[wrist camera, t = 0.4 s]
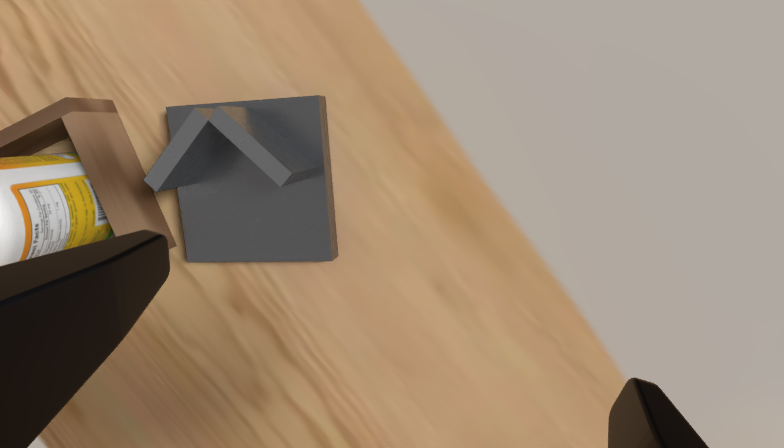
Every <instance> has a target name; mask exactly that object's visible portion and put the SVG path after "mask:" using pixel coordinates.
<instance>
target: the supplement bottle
mask: <svg viewBox="0 0 784 448" xmlns="http://www.w3.org/2000/svg"><path fill="white" fill-rule="evenodd" d="M114 236H115V234H114V231H113V229H112V227H111V225H110V223H109V220H108V218H107V216H106V214H105V212H104V210H103V207H102V205H101V203H100V201H99V199H98V196H97V194H96V192H95V190H94V188H93V186H92V183H91V181H90V179H89V177H88V175H87V172H86V170H85V168H84V166H83V164H82V161H81V159H80V157H79V155H78V153H58V154H46V155H32V156H18V157H3V158H0V266H3V265H7V264H10V263H14V262H18V261H22V260H26V259H30V258H34V257H38V256H42V255H46V254H50V253H54V252H57V251H61V250H65V249H69V248H73V247H77V246H81V245H85V244H89V243H93V242H97V241H101V240H105V239H108V238H112V237H114Z"/></svg>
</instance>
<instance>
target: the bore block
mask: <svg viewBox="0 0 784 448" xmlns="http://www.w3.org/2000/svg"><path fill="white" fill-rule="evenodd" d="M69 136H70V137H71V140H72V142H73V144H74V146H75V148H76V151H77V153H78V155H79V157H80V159H81V161H82V164H83V166H84V168H85V170H86V172H87V175H88V177H89V179H90V181H91V183H92V186H93V188H94V190H95V192H96V194H97V196H98V199H99V201H100V203H101V205H102V207H103V210H104V212H105V214H106V216H107V218H108V220H109V223H110V225H111V227H112V229H113V231H114V234H115V236H120V235H124V234H128V233H132V232H136V231H140V230H144V229H147V230H151V231H155V232H158V233H161V234H163V235H165V236H166V238H167V240H168V248H169V249H170V248H173V247H175V246H177V245H176V243H175V241H174V239H173V236H172V234H171V232H170V230H169V227H168V225H167V223H166V221H165V218H164V216H163V214H162V212H161V209H160V207H159V205H158V203H157V200H156V198H155V196H154V194H153V191H152V189H151V187H150V185H148V184H147V183H146V182H145V181H144V179H145V177H146V176H145V173H144V171H143V169H142V167H141V164H140V162H139V160H138V158H137V155H136V153H135V151H134V148H133V146H132V144H131V142H130V139H129V137H128V135H127V133H126V130H125V128H124V126H123V124H122V121H121V119H120V117H119V115H118V112H117V110H116V108H115V106H114V103H113V101H112V100H101V99H85V98H68V97H66V98H64V99H62V100H60V101H58V102H56V103H54V104H52V105H50V106H48V107H46V108H44V109H42V110H40V111H38V112H36V113H34V114H32V115H30V116H28V117H27V118H25V119H23V120H21V121H19V122H17V123H15V124H13V125H11V126H9V127H7V128H5V129H3V130H1V131H0V158H3V157H18V156H30V155H32V154H34V153H36V152H38V151H40V150H42V149H44V148H46V147H48V146H50V145H52V144H54V143H56V142H58V141H60V140H63V139H65V138H67V137H69Z"/></svg>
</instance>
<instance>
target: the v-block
mask: <svg viewBox="0 0 784 448" xmlns="http://www.w3.org/2000/svg"><path fill="white" fill-rule="evenodd" d="M166 111H167V118H168V125H169V132H170V140H171V142H170V143H169V145H168V146H167V147H166V149H165V150H164V152H163V153H162V154H161V156H160V157H159V159H158V160H157V162H156V163H155V164H154V166H153V167H152V169H151V170H150V172H149V173H148V174H147V176H146V177H145V179H144V181H145V182H146V183H147V184H148V185H150V186H151V187H152V188H153V189H154V190H155V191H156V192H159V191H164V190H169V189H173V188H177V190H178V197H179V204H180V211H181V218H182V225H183V233H184V240H185V247H186V254H187V261H188V262H269V261H333V260H334V259H335V258H336V257H338V247H337V235H336V223H335V211H334V198H333V186H332V174H331V162H330V149H329V137H328V125H327V113H326V100H325V96H319V95H318V96H304V97H291V98H278V99H265V100H252V101H239V102H226V103H213V104H199V105H186V106H173V107H166Z"/></svg>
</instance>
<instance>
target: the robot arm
mask: <svg viewBox="0 0 784 448" xmlns="http://www.w3.org/2000/svg"><path fill="white" fill-rule="evenodd" d="M169 272H170V261H169V248H168V240H167V238H166V236H165V235H163V234H161V233H158V232H155V231H151V230H147V229H144V230H140V231H136V232H132V233H128V234H124V235H120V236H116V237H112V238H108V239H105V240H101V241H97V242H93V243H89V244H85V245H81V246H77V247H73V248H69V249H65V250H61V251H57V252H54V253H50V254H46V255H42V256H38V257H34V258H30V259H26V260H22V261H18V262H14V263H10V264H7V265H3V266H0V448H27V447H28V446H29V445H30V444H31V443H32V442H33V441H34V440H35V438H36V437H37V436H38V435H39V434H40V433H41V432H42V431H43V429H44V428H45V427H46V426H47V425H48V424H49V423H50V422H51V420H52V419H53V418H54V417H55V416H56V415H57V414H58V412H59V411H60V410H61V409H62V408H63V407H64V406H65V405H66V403H67V402H68V401H69V400H70V399H71V398H72V397H73V396H74V394H75V393H76V392H77V391H78V390H79V389H80V388H81V387H82V385H83V384H84V383H85V382H86V381H87V380H88V379H89V378H90V376H91V375H92V374H93V373H94V372H95V371H96V370H97V369H98V367H99V366H100V365H101V364H102V363H103V362H104V361H105V360H106V358H107V357H108V356H109V355H110V354H111V353H112V352H113V351H114V349H115V348H116V347H117V346H118V345H119V344H120V342H121V341H122V340H123V339H124V337H125V336H126V335H127V334H128V332H129V331H130V330H131V328H132V327H133V325H134V324H135V323H136V321H137V320H138V318H139V317H140V316H141V314H142V313H143V312H144V310H145V309H146V307H147V306H148V305H149V303H150V302H151V300H152V299H153V298H154V296H155V295H156V293H157V292H158V291H159V289H160V288H161V287H162V285H163V284H164V282H165V281H166V279H167V277H168V275H169ZM608 448H709V447H708V446H707V445H706V444H705V442H704V441H703V440H702V439H701V437H700V436H699V435H698V434H697V433H696V431H695V430H694V429H693V428H692V426H691V425H690V424H689V423H688V422H687V420H686V419H685V418H684V417H683V416H682V414H681V413H680V412H679V411H678V409H677V408H676V407H675V406H674V405H673V404H672V402H671V401H670V400H669V399H668V397H667V396H666V395H665V394H664V393H663V391H662V390H661V389H660V388H659V387H658V386H657V385H656V384H654V383H651V382H648V381H645V380H641V379H638V378H631V379H629V380H628V381H627V383H626V384H625V386H624V388H623V389H622V391H621V393H620V394H619V396H618V398H617V399H616V401H615V403H614V404H613V406H612V408H611V411H610V415H609V426H608Z"/></svg>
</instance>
